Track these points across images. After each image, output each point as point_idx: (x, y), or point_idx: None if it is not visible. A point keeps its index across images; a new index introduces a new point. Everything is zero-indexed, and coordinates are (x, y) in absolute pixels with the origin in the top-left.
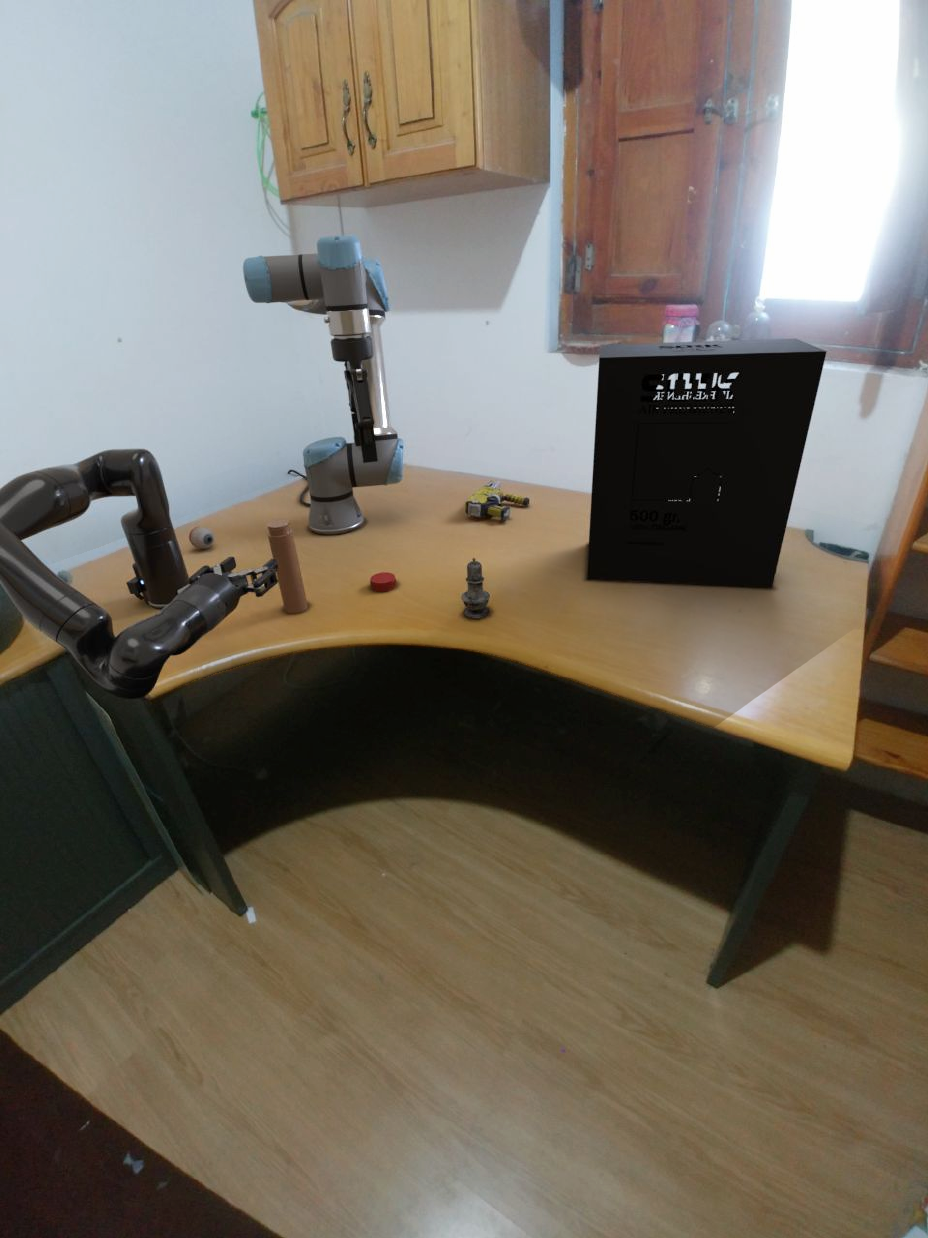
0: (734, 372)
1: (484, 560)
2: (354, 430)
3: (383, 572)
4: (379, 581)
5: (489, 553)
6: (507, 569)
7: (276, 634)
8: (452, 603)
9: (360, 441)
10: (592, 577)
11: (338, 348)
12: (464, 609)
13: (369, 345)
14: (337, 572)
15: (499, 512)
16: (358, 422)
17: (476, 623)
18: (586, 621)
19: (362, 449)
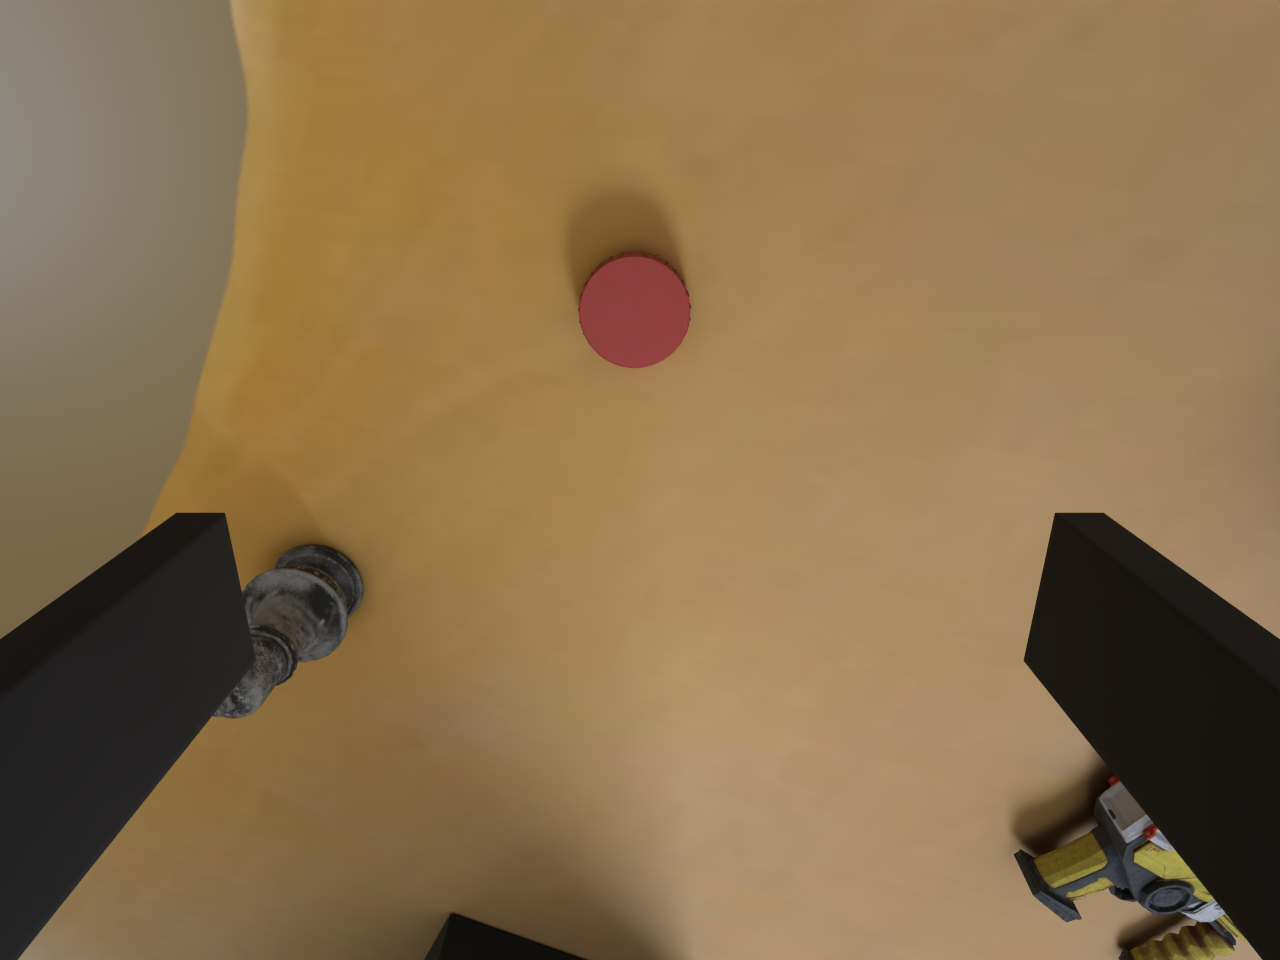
0: None
1: (713, 704)
2: (1187, 635)
3: (686, 324)
4: (599, 293)
5: (765, 734)
6: (608, 749)
7: None
8: (406, 527)
9: (18, 658)
10: (443, 931)
11: None
12: (335, 554)
13: None
14: (868, 106)
15: (1048, 872)
16: (1261, 800)
17: (247, 565)
18: (206, 830)
19: (64, 603)
